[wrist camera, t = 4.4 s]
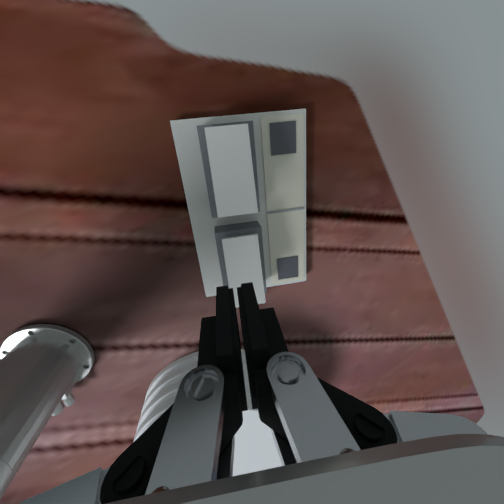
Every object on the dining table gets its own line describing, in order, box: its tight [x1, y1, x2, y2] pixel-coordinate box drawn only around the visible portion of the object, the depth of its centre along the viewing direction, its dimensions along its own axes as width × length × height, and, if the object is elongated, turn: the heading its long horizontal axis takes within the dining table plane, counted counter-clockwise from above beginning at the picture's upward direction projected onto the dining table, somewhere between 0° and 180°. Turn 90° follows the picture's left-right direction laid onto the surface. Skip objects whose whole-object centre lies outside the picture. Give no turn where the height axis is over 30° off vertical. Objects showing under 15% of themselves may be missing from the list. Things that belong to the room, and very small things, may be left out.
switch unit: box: [170, 109, 306, 297], centre depth 32 cm, size 24×16×4 cm, turn 5°
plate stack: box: [133, 349, 282, 476], centre depth 43 cm, size 28×28×12 cm
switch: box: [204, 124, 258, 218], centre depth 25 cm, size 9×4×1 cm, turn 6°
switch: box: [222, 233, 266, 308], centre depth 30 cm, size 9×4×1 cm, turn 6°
